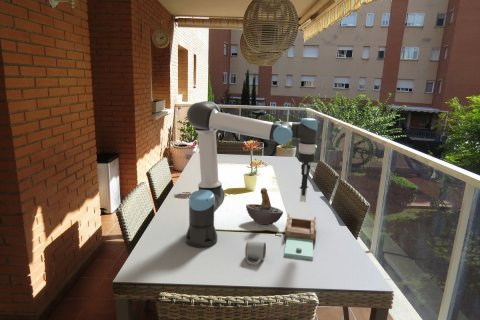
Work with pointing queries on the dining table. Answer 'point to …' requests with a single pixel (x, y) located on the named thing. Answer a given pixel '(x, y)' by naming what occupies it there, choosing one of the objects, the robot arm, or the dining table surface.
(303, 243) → the lid
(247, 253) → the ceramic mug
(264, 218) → the planter
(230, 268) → the dining table surface
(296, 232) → the box
